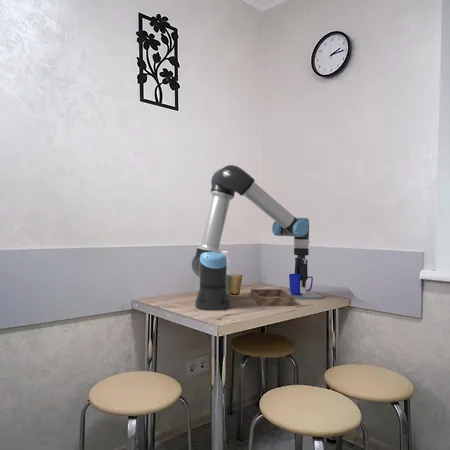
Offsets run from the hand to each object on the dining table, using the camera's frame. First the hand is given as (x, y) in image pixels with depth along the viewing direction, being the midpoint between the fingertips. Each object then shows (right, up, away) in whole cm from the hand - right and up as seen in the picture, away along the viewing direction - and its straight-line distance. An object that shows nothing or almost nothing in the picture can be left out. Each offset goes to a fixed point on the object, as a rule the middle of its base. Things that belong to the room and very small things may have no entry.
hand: (300, 291), depth 187 cm
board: (0, -2, 0) cm, 2 cm away
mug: (0, -1, 0) cm, 1 cm away
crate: (-17, -2, -13) cm, 21 cm away
